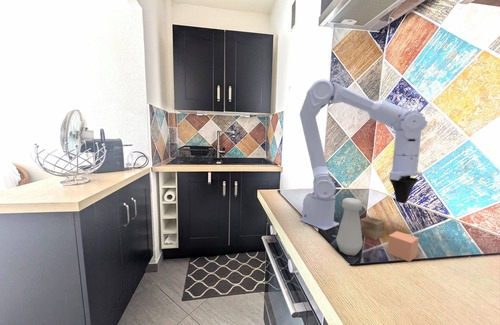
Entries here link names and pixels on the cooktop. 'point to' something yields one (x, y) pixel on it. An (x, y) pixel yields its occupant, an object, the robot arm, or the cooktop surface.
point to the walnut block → (372, 227)
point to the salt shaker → (350, 227)
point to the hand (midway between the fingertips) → (401, 202)
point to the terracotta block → (403, 246)
